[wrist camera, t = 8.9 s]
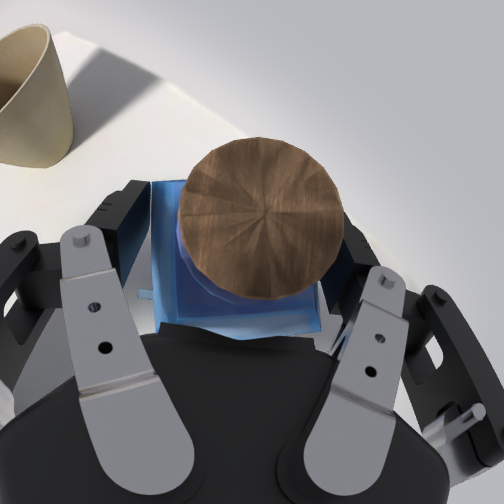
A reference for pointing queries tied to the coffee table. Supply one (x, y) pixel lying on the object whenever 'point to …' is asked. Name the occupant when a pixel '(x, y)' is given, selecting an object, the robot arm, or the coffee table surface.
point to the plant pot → (33, 100)
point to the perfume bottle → (245, 241)
